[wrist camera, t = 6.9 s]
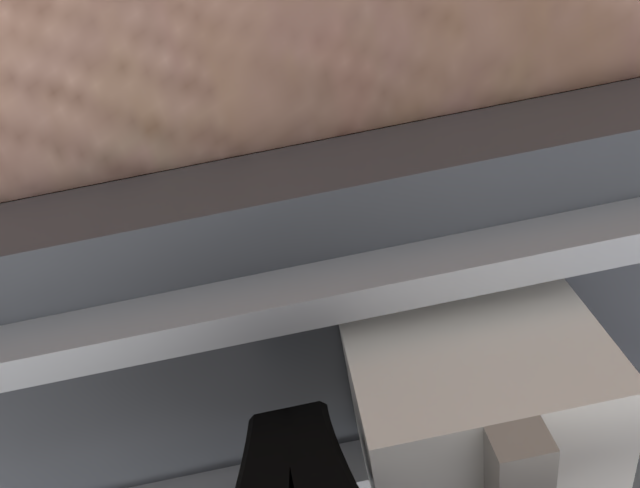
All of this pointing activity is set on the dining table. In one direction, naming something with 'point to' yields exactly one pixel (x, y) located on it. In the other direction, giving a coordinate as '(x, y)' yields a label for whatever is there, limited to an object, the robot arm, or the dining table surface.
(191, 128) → the dining table surface
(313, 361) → the control panel
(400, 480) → the slider knob
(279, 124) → the dining table surface
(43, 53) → the dining table surface
